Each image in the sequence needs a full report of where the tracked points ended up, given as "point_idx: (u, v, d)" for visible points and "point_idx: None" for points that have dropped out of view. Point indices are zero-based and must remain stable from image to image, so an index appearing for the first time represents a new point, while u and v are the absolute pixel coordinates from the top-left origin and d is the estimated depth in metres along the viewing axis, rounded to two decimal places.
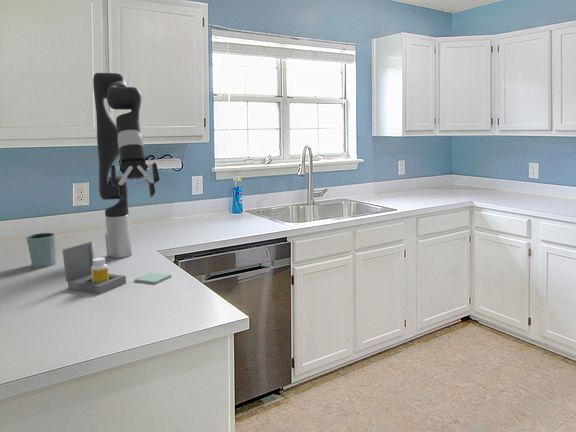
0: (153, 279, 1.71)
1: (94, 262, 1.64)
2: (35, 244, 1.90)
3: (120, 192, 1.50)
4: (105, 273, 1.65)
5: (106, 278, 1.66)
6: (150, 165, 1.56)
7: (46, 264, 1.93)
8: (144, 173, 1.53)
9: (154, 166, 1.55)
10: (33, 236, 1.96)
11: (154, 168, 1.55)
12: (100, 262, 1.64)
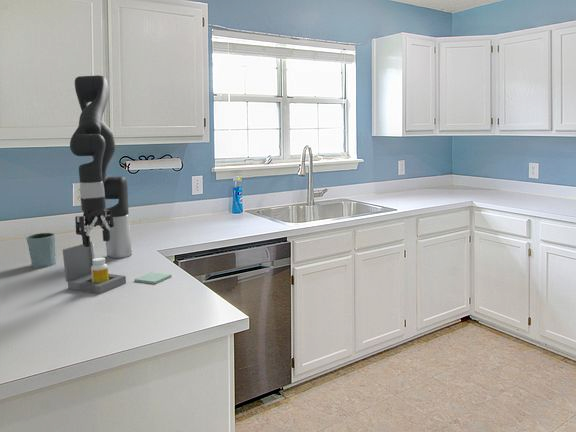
0: (153, 279, 1.71)
1: (94, 262, 1.64)
2: (35, 244, 1.90)
3: (86, 242, 1.60)
4: (105, 273, 1.65)
5: (106, 278, 1.66)
6: (106, 212, 1.67)
7: (46, 264, 1.93)
8: (105, 222, 1.65)
9: (110, 213, 1.68)
10: (33, 236, 1.96)
11: (110, 215, 1.68)
12: (100, 262, 1.64)
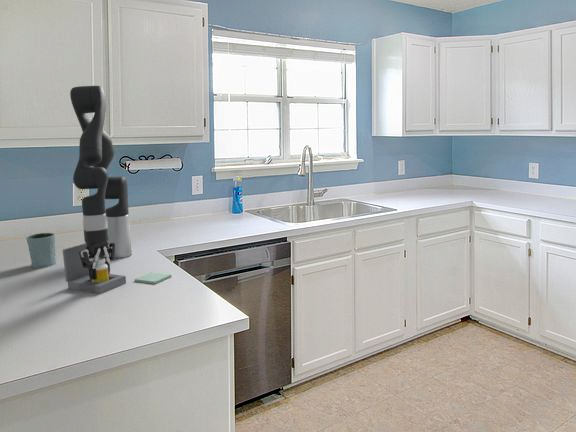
0: (153, 279, 1.71)
1: None
2: (35, 244, 1.90)
3: (92, 274, 1.63)
4: (105, 273, 1.65)
5: (106, 278, 1.66)
6: (109, 244, 1.69)
7: (46, 264, 1.93)
8: (106, 254, 1.67)
9: (113, 246, 1.70)
10: (33, 236, 1.96)
11: (112, 248, 1.70)
12: (100, 262, 1.64)
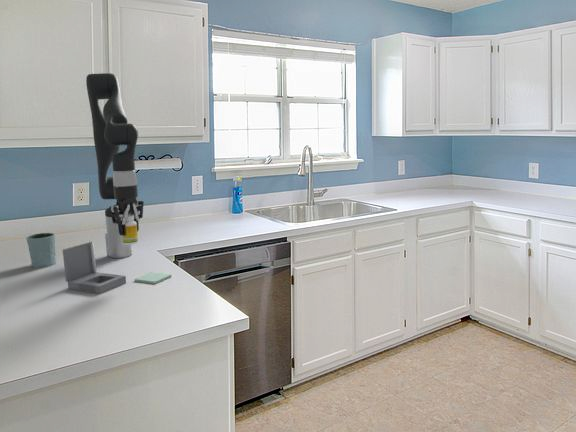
0: (153, 279, 1.71)
1: None
2: (35, 244, 1.90)
3: (122, 230, 1.65)
4: (134, 229, 1.67)
5: (135, 235, 1.68)
6: (138, 202, 1.71)
7: (46, 264, 1.93)
8: (135, 211, 1.68)
9: (141, 204, 1.72)
10: (33, 236, 1.96)
11: (141, 206, 1.72)
12: (129, 218, 1.66)
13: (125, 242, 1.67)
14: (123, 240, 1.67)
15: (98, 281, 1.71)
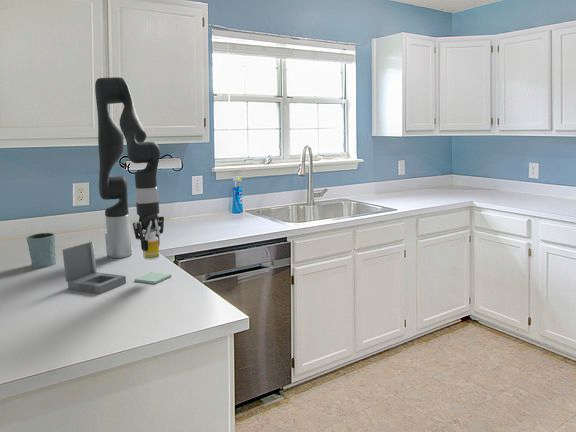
0: (153, 279, 1.71)
1: None
2: (35, 244, 1.90)
3: (144, 246, 1.69)
4: (156, 245, 1.71)
5: (157, 250, 1.72)
6: (159, 217, 1.75)
7: (46, 264, 1.93)
8: (157, 227, 1.72)
9: (162, 220, 1.76)
10: (33, 236, 1.96)
11: (162, 221, 1.75)
12: (152, 234, 1.70)
13: (147, 257, 1.70)
14: (145, 255, 1.71)
15: (98, 281, 1.71)
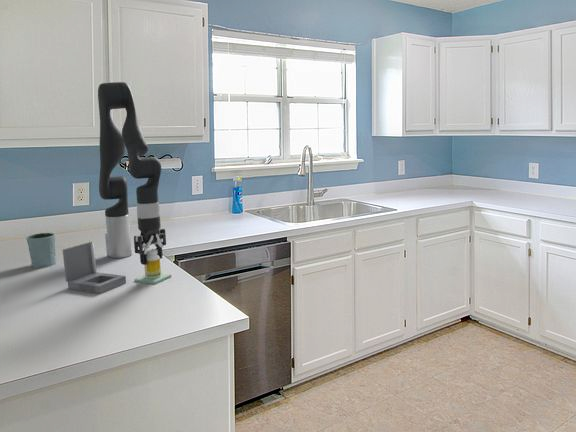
0: (153, 279, 1.71)
1: (147, 253, 1.71)
2: (35, 244, 1.90)
3: (144, 260, 1.68)
4: (158, 263, 1.72)
5: (158, 268, 1.73)
6: (160, 231, 1.76)
7: (46, 264, 1.93)
8: (159, 240, 1.74)
9: (164, 232, 1.77)
10: (33, 236, 1.96)
11: (163, 234, 1.77)
12: (153, 253, 1.71)
13: (149, 276, 1.72)
14: (147, 274, 1.72)
15: (98, 281, 1.71)
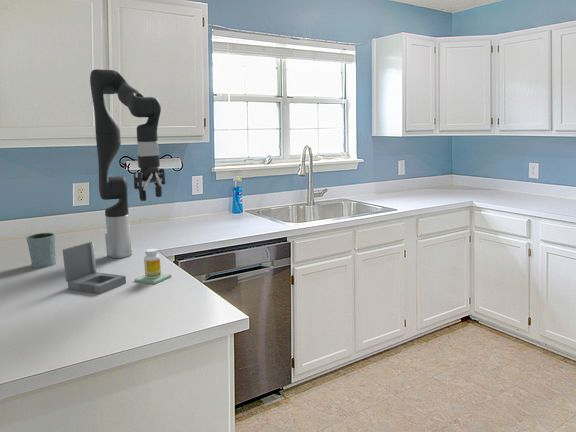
0: (153, 279, 1.71)
1: (147, 253, 1.71)
2: (35, 244, 1.90)
3: (143, 196, 1.75)
4: (158, 263, 1.72)
5: (158, 268, 1.73)
6: (159, 170, 1.83)
7: (46, 264, 1.93)
8: (158, 179, 1.81)
9: (163, 171, 1.83)
10: (33, 236, 1.96)
11: (162, 173, 1.83)
12: (153, 253, 1.71)
13: (149, 276, 1.72)
14: (147, 274, 1.72)
15: (98, 281, 1.71)
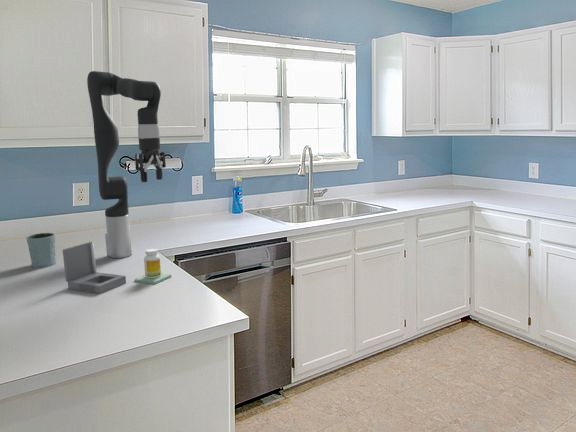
0: (153, 279, 1.71)
1: (147, 253, 1.71)
2: (35, 244, 1.90)
3: (144, 177, 1.80)
4: (158, 263, 1.72)
5: (158, 268, 1.73)
6: (160, 153, 1.87)
7: (46, 264, 1.93)
8: (159, 161, 1.85)
9: (163, 155, 1.88)
10: (33, 236, 1.96)
11: (163, 156, 1.88)
12: (153, 253, 1.71)
13: (149, 276, 1.72)
14: (147, 274, 1.72)
15: (98, 281, 1.71)
